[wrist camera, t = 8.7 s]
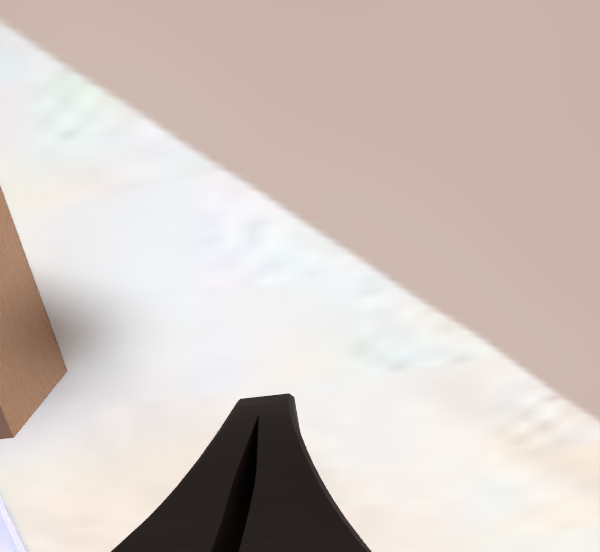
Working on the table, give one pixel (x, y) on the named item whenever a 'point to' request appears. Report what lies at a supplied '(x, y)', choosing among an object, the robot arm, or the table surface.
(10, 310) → the cooker
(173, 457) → the table surface
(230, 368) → the table surface
